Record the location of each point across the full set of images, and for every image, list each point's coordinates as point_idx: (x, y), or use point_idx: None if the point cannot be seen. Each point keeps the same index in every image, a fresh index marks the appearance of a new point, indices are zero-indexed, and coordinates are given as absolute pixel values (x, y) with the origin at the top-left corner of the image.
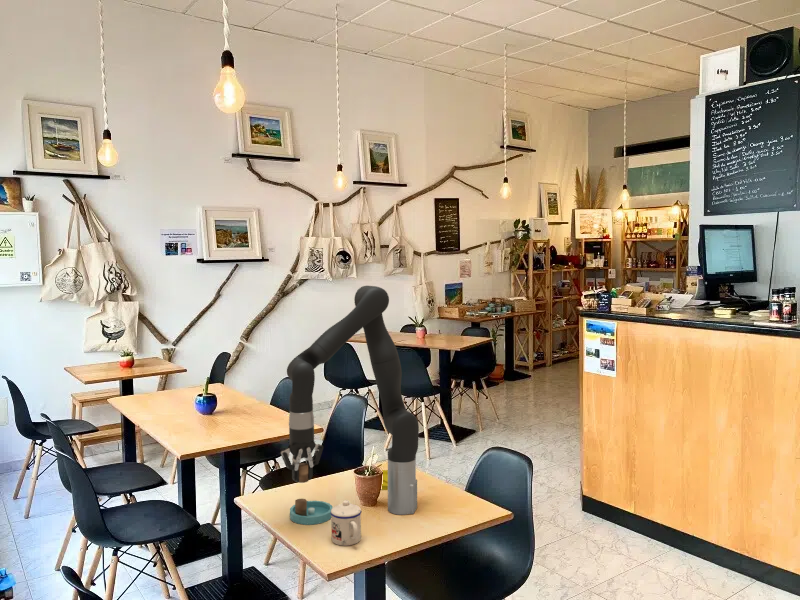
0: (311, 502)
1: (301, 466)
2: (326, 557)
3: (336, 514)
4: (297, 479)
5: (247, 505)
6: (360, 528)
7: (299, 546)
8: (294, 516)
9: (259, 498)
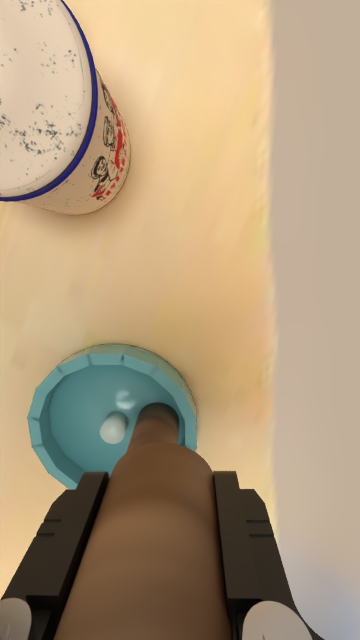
0: None
1: None
2: (207, 23)
3: (72, 27)
4: (231, 488)
5: None
6: None
7: (260, 192)
8: (193, 409)
9: None
